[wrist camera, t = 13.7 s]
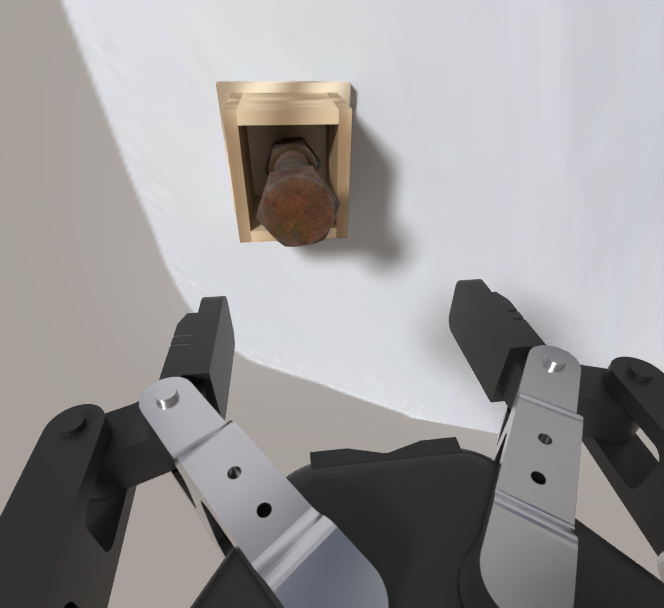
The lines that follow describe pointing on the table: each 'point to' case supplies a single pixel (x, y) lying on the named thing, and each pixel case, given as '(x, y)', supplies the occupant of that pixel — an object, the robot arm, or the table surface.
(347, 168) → the socket block
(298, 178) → the bolt
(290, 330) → the table surface
